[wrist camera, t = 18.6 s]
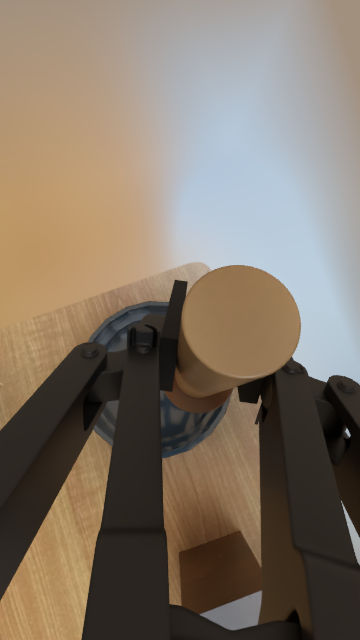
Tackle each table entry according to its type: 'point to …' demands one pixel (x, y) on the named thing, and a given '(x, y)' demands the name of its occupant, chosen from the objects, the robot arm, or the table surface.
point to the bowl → (175, 423)
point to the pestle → (231, 335)
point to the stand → (222, 582)
